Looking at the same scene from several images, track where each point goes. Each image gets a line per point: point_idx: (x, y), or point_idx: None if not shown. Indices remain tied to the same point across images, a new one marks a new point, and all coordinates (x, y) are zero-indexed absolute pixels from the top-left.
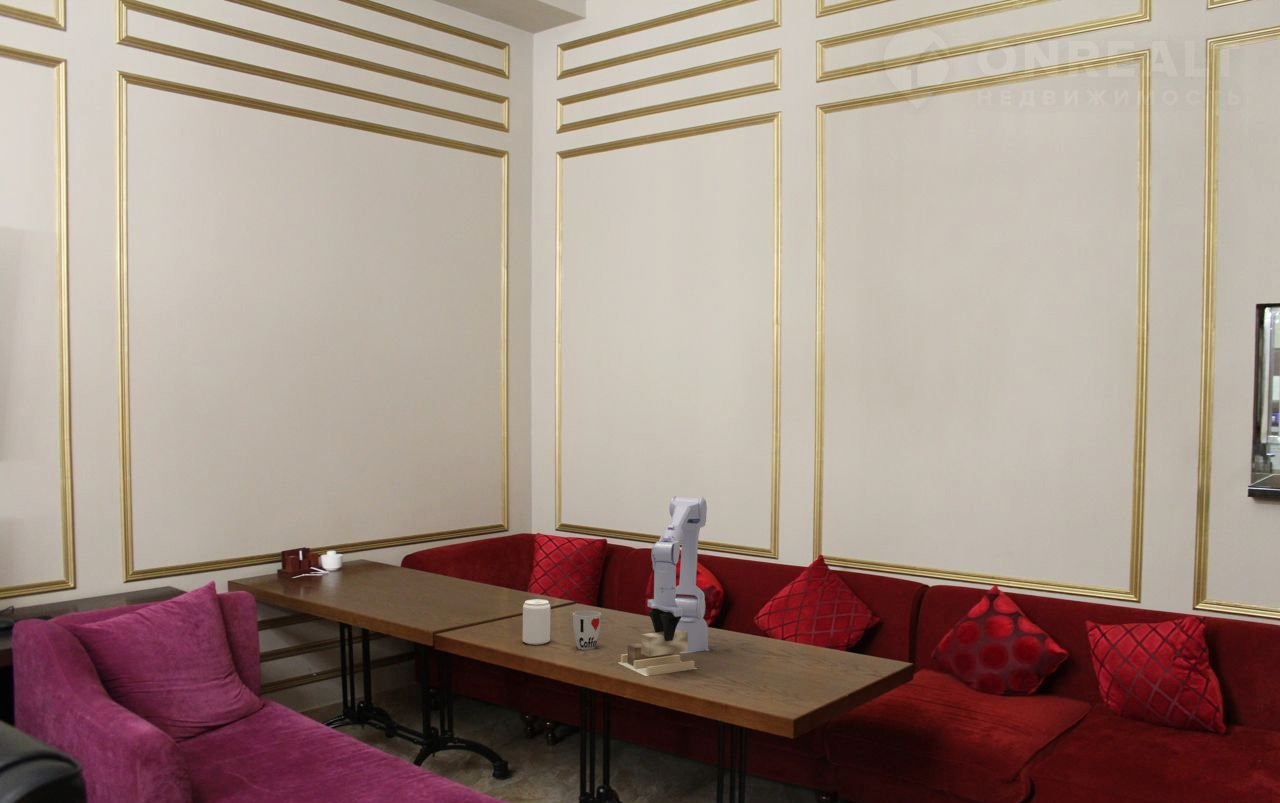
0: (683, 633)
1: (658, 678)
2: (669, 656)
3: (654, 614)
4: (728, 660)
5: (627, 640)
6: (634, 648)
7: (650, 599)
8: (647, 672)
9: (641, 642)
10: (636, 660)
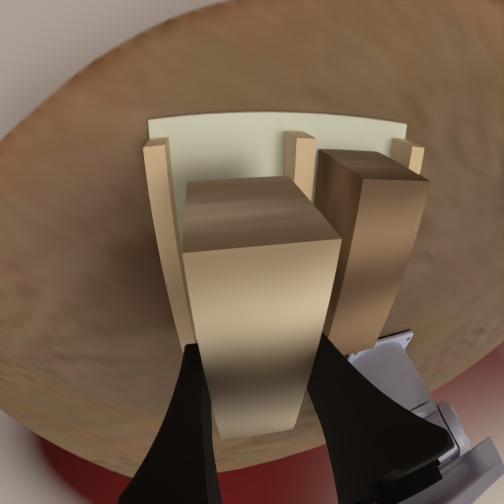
0: (219, 429)
1: (128, 174)
2: None
3: (375, 466)
4: None
5: (498, 275)
6: (367, 177)
7: (491, 481)
8: (161, 139)
9: (308, 205)
10: (311, 153)
